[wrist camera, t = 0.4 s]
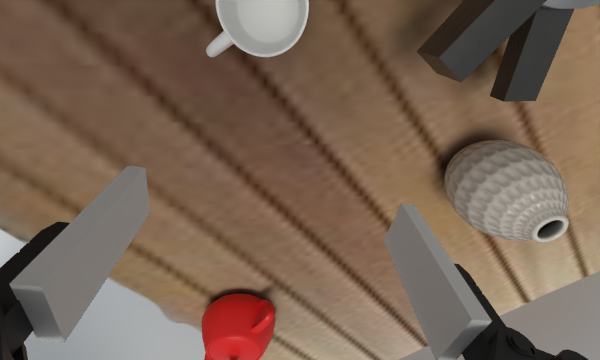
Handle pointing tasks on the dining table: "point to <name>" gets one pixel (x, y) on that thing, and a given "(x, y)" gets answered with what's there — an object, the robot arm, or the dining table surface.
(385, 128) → the dining table surface
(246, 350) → the teapot
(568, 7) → the lid
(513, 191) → the vase
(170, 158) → the dining table surface
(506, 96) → the pot
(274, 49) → the cup
